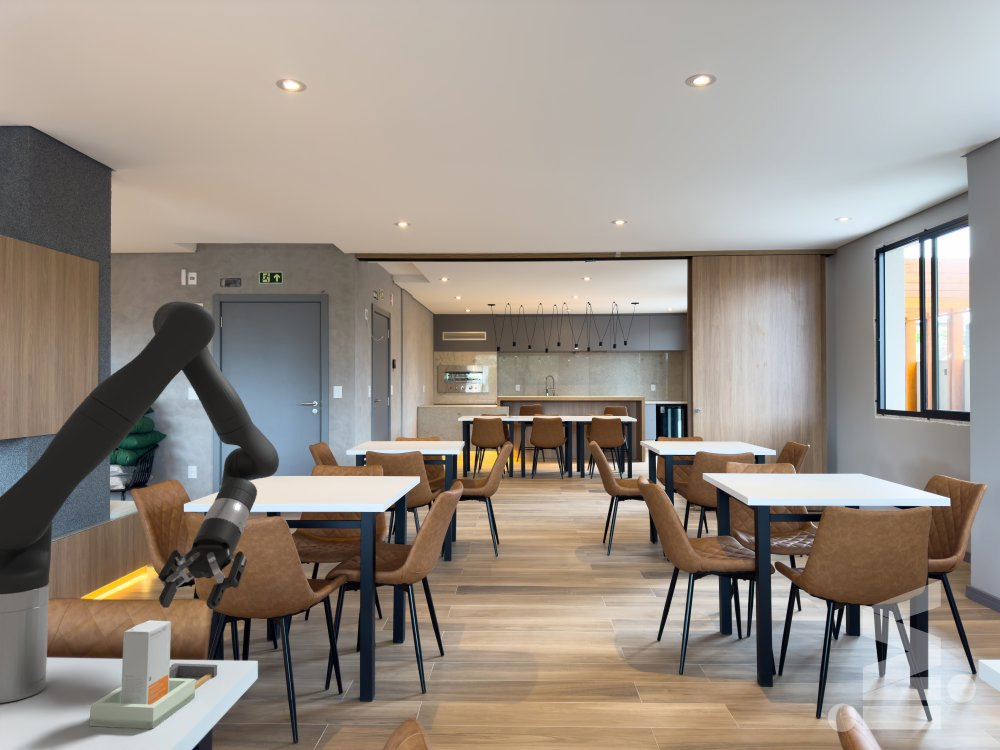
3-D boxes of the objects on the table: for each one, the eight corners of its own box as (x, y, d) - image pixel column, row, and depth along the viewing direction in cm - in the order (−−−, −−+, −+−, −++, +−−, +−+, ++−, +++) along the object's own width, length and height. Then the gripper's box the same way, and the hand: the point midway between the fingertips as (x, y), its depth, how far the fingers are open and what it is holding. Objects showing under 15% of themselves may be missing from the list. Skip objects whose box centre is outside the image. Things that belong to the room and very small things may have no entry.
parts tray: (89, 725, 101) (90, 705, 101) (137, 695, 112) (137, 676, 112) (153, 728, 100) (153, 707, 100) (194, 697, 111) (195, 678, 111)
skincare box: (146, 713, 103) (147, 632, 103) (119, 712, 103) (121, 631, 104) (170, 697, 109) (172, 620, 109) (145, 695, 109) (147, 619, 110)
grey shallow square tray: (141, 694, 112) (141, 683, 112) (174, 673, 121) (174, 663, 121) (187, 696, 111) (187, 685, 111) (216, 675, 120) (217, 664, 120)
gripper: (179, 515, 128) (138, 593, 116) (251, 516, 126) (218, 595, 114) (194, 539, 133) (157, 616, 121) (264, 540, 131) (233, 618, 119)
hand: (186, 606), depth 118 cm, fingers open, 8 cm apart
